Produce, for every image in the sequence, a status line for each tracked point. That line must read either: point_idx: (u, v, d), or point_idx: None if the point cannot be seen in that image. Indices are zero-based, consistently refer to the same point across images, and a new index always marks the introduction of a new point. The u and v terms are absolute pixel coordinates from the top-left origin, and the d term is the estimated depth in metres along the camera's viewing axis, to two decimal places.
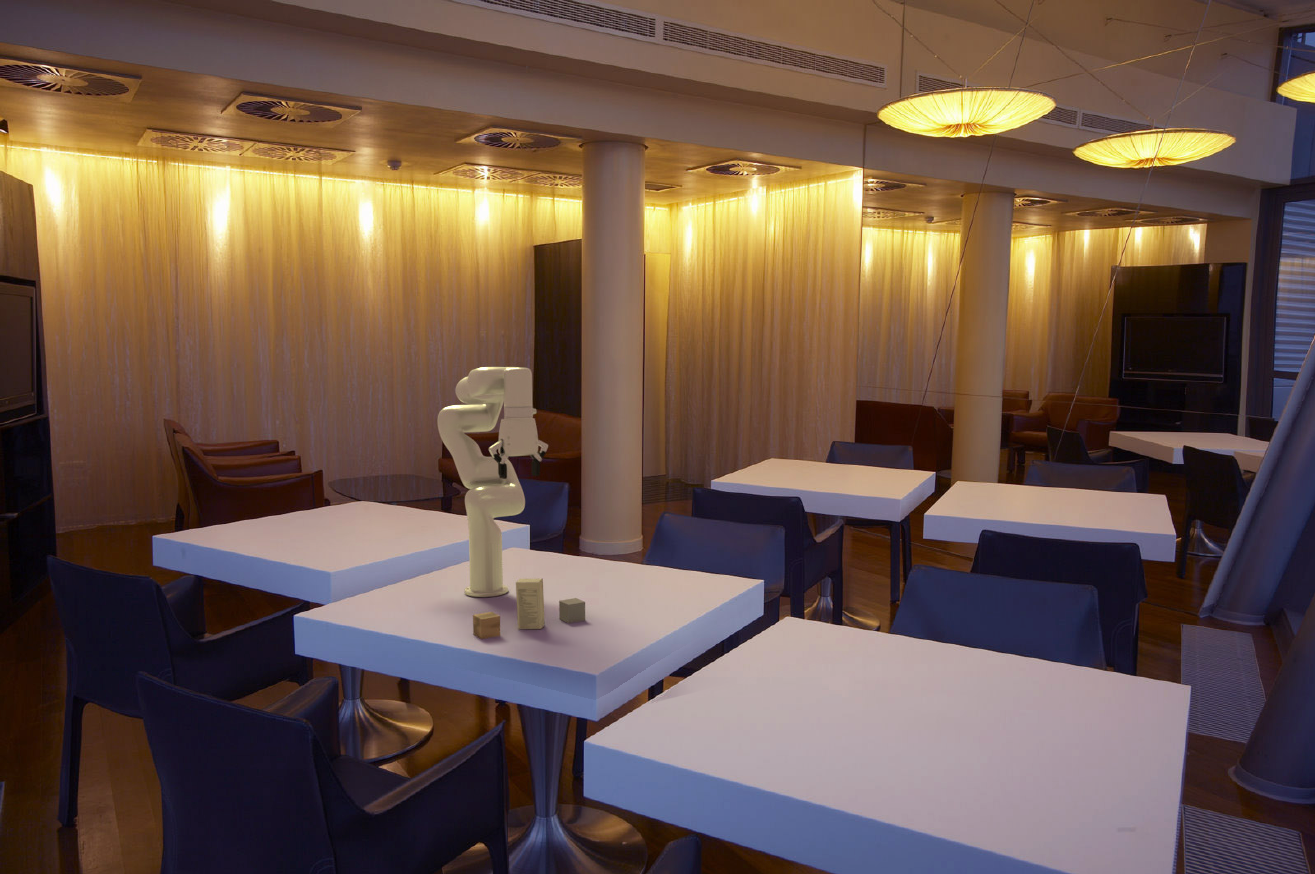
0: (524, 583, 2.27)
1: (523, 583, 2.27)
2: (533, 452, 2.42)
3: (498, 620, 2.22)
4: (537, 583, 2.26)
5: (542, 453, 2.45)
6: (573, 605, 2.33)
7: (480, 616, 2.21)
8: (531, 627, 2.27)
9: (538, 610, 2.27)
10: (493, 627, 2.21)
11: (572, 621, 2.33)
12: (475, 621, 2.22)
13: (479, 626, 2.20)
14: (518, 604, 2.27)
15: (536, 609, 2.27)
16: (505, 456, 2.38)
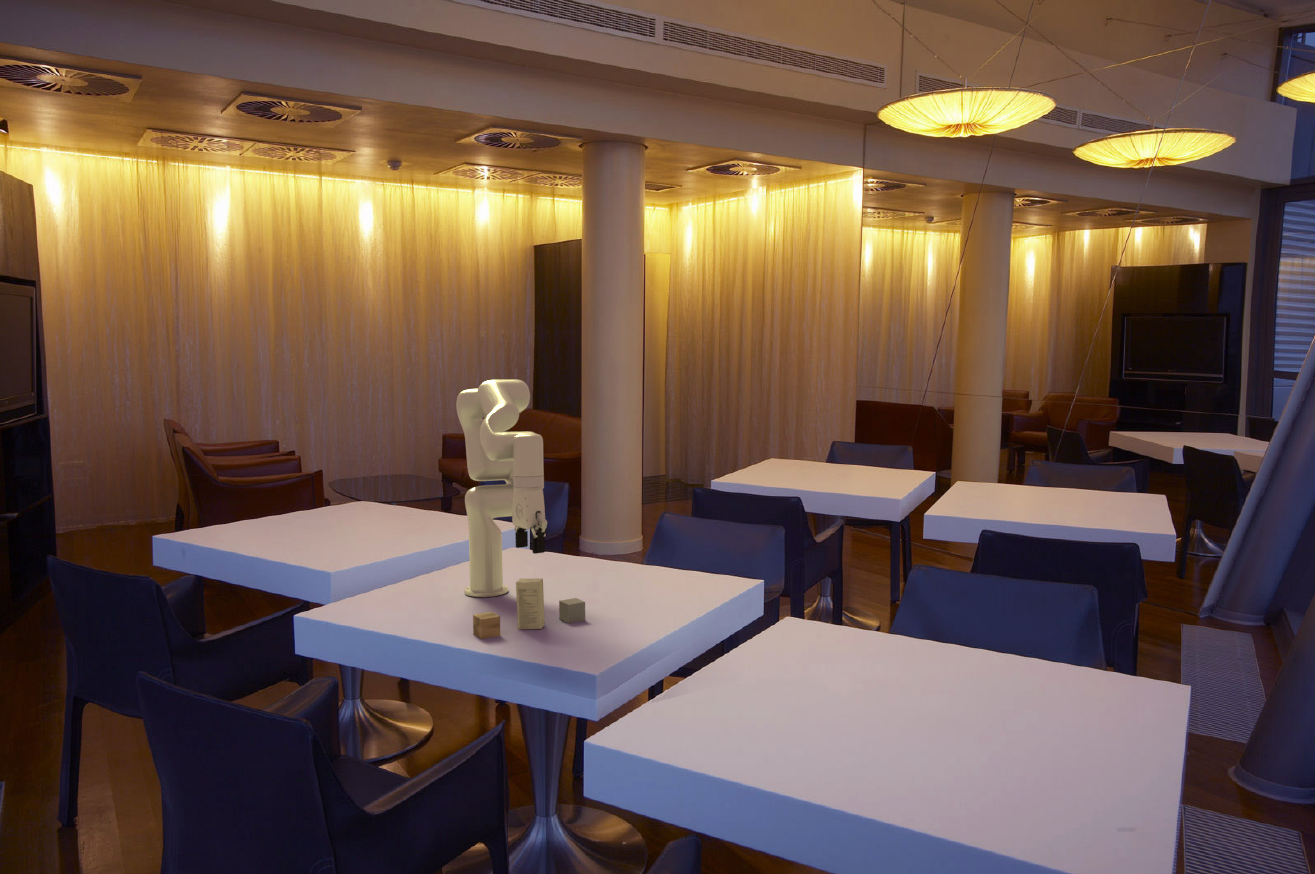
0: (524, 583, 2.27)
1: (523, 583, 2.27)
2: None
3: (498, 620, 2.22)
4: (537, 583, 2.26)
5: None
6: (573, 605, 2.33)
7: (481, 616, 2.21)
8: (531, 627, 2.27)
9: (538, 610, 2.27)
10: (493, 627, 2.21)
11: (572, 621, 2.33)
12: (476, 621, 2.22)
13: (479, 626, 2.20)
14: (518, 604, 2.27)
15: (536, 609, 2.27)
16: None
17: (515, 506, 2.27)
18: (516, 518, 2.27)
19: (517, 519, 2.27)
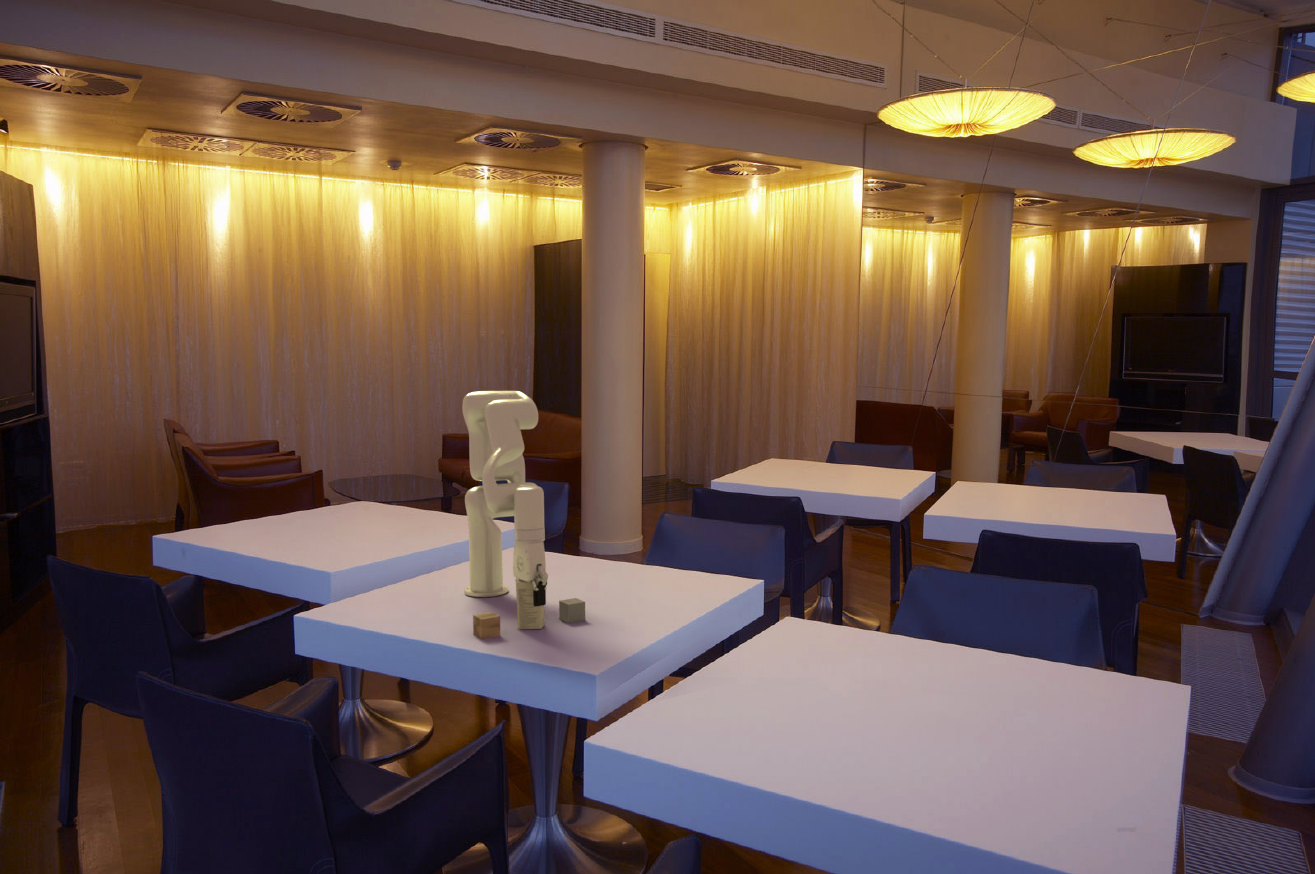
0: (524, 583, 2.27)
1: (523, 583, 2.27)
2: None
3: (498, 620, 2.22)
4: (537, 583, 2.26)
5: None
6: (573, 605, 2.33)
7: (481, 616, 2.21)
8: (531, 627, 2.27)
9: (538, 610, 2.27)
10: (493, 627, 2.21)
11: (572, 621, 2.33)
12: (476, 621, 2.22)
13: (479, 626, 2.20)
14: (518, 604, 2.27)
15: (536, 609, 2.27)
16: None
17: (516, 558, 2.28)
18: (517, 570, 2.28)
19: (518, 571, 2.27)
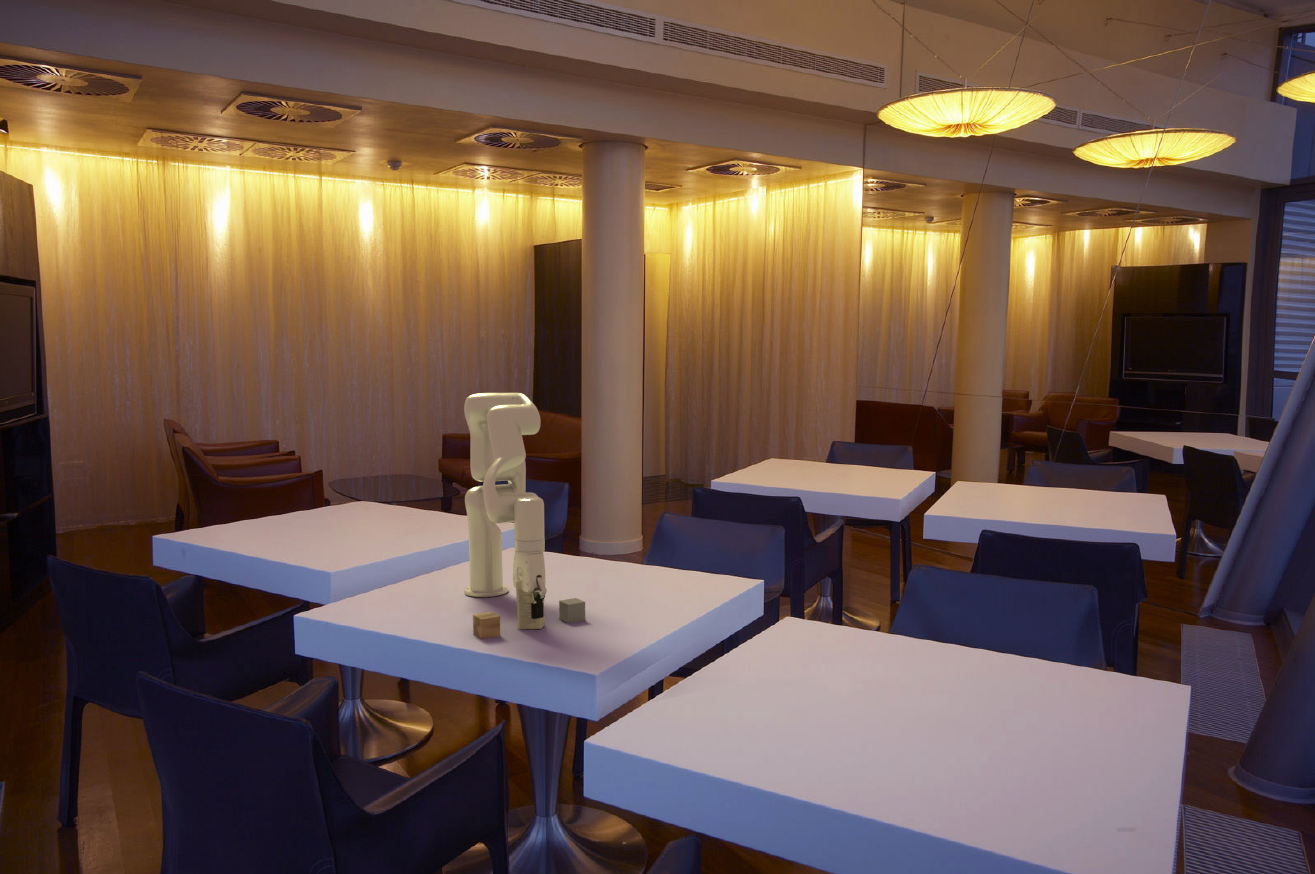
0: None
1: None
2: None
3: (498, 620, 2.22)
4: None
5: None
6: (573, 605, 2.33)
7: (481, 616, 2.21)
8: (531, 627, 2.27)
9: None
10: (493, 627, 2.21)
11: (572, 621, 2.33)
12: (476, 621, 2.22)
13: (479, 626, 2.20)
14: (518, 604, 2.27)
15: None
16: None
17: (516, 568, 2.29)
18: (517, 580, 2.28)
19: None
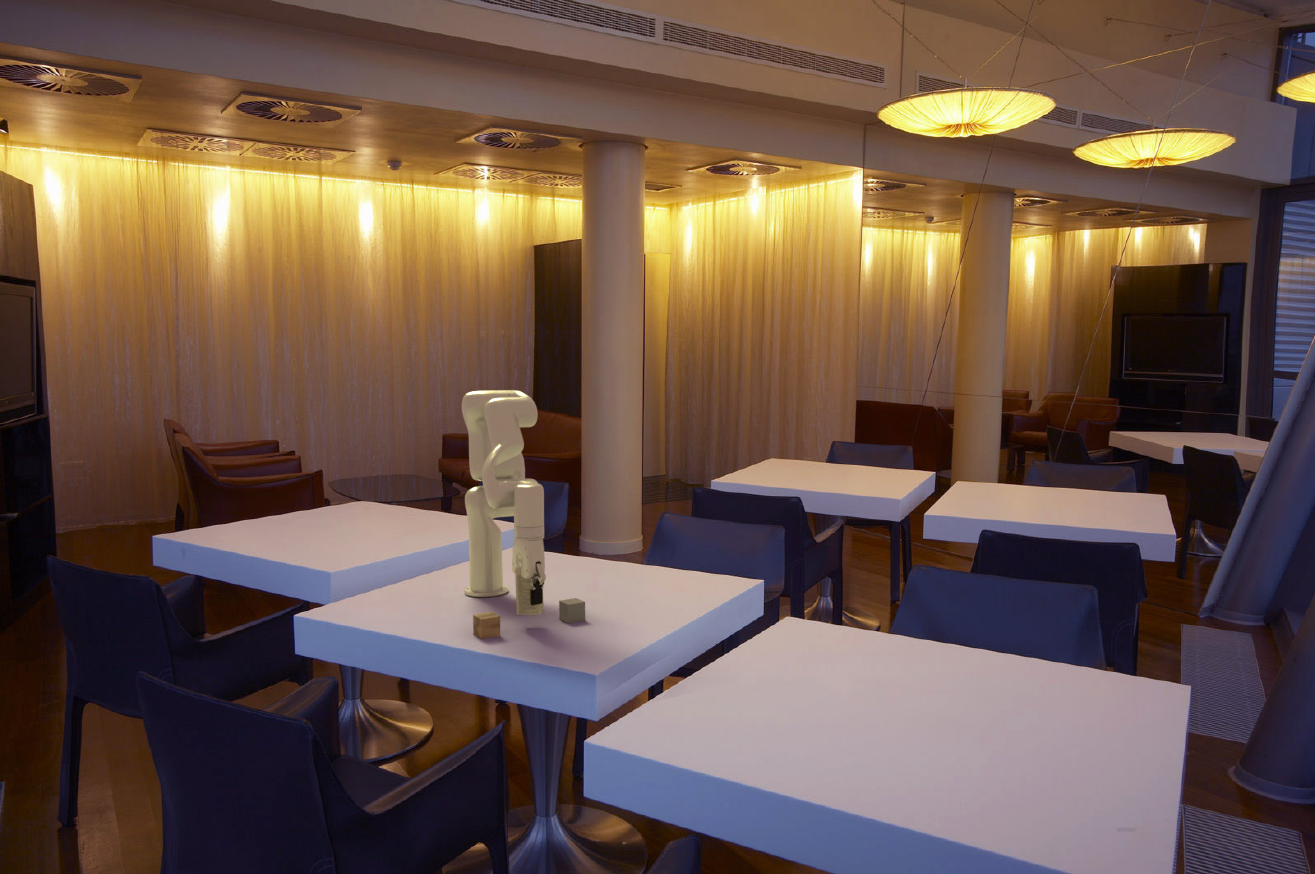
0: None
1: None
2: None
3: (498, 620, 2.22)
4: None
5: None
6: (573, 605, 2.33)
7: (481, 616, 2.21)
8: (530, 613, 2.28)
9: None
10: (493, 627, 2.21)
11: (572, 621, 2.33)
12: (476, 621, 2.22)
13: (479, 626, 2.20)
14: (517, 590, 2.27)
15: None
16: None
17: (515, 555, 2.29)
18: (516, 566, 2.28)
19: None
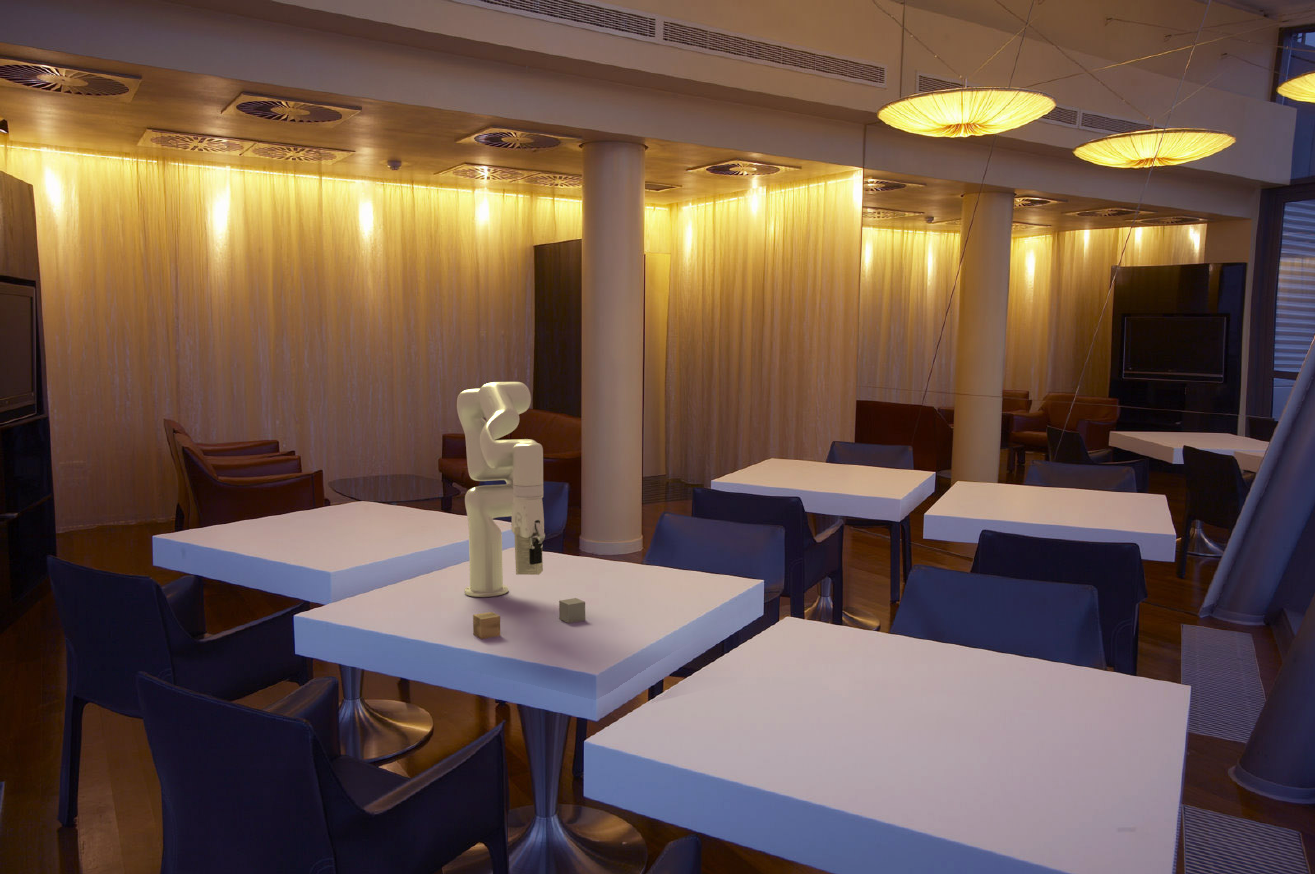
0: None
1: None
2: None
3: (498, 620, 2.22)
4: None
5: None
6: (573, 605, 2.33)
7: (481, 616, 2.21)
8: (529, 573, 2.27)
9: None
10: (493, 627, 2.21)
11: (572, 621, 2.33)
12: (476, 621, 2.22)
13: (479, 626, 2.20)
14: (516, 550, 2.27)
15: None
16: None
17: (514, 514, 2.28)
18: (515, 526, 2.28)
19: None
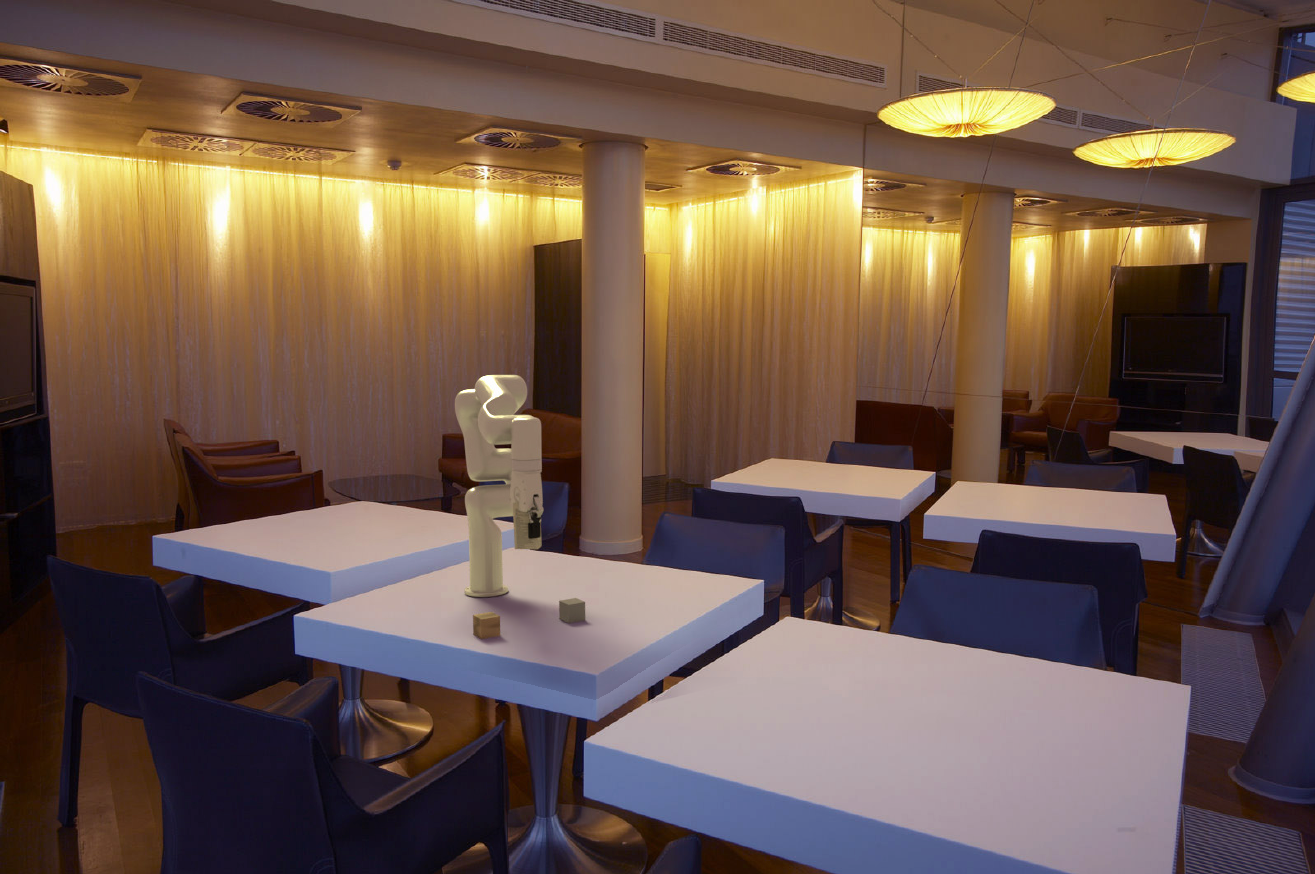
0: None
1: None
2: None
3: (498, 620, 2.22)
4: None
5: None
6: (573, 605, 2.33)
7: (481, 616, 2.21)
8: (528, 547, 2.27)
9: None
10: (493, 627, 2.21)
11: (572, 621, 2.33)
12: (476, 621, 2.22)
13: (479, 626, 2.20)
14: (515, 524, 2.27)
15: None
16: None
17: (513, 489, 2.28)
18: (514, 501, 2.28)
19: None
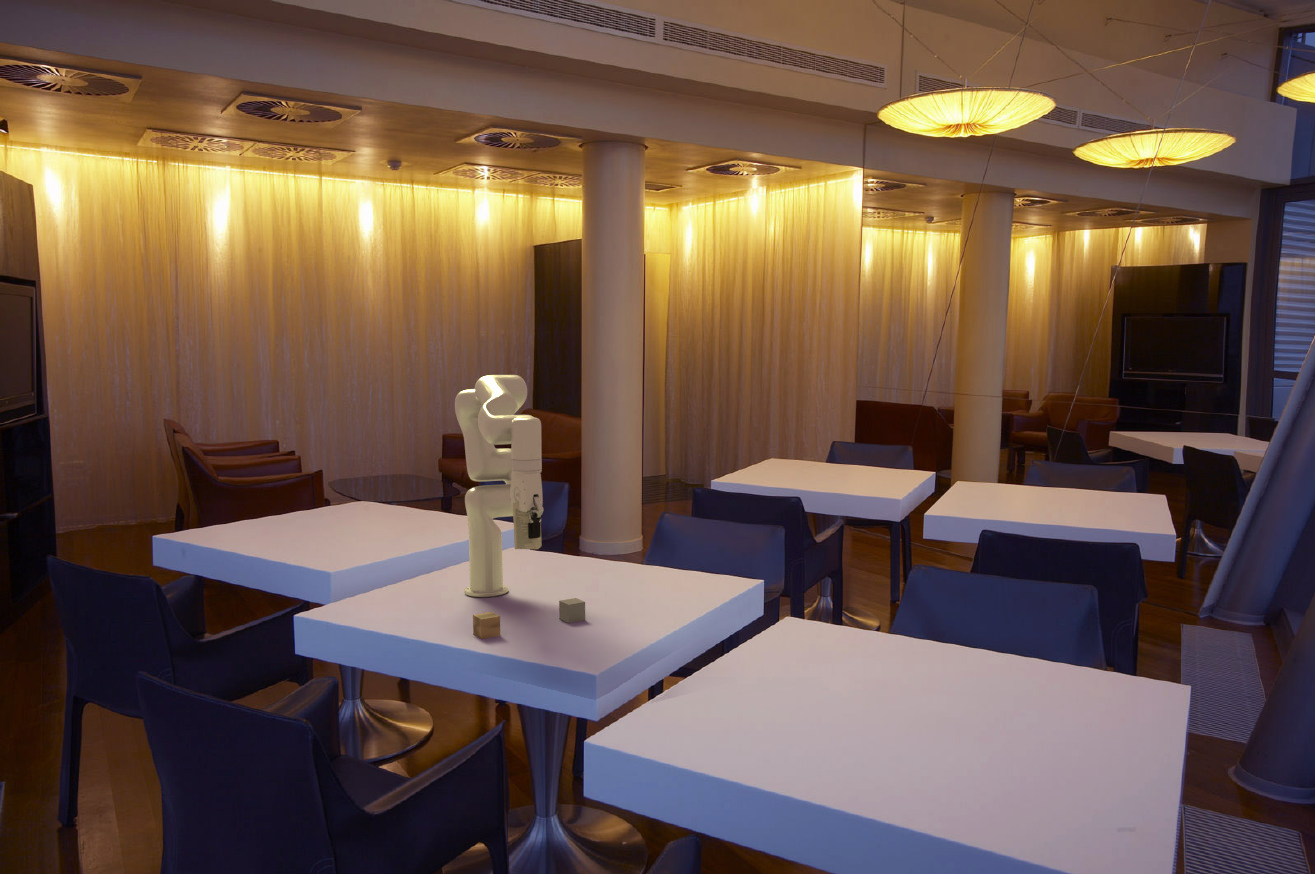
0: None
1: None
2: None
3: (498, 620, 2.22)
4: None
5: None
6: (573, 605, 2.33)
7: (481, 616, 2.21)
8: (528, 547, 2.27)
9: None
10: (493, 627, 2.21)
11: (572, 621, 2.33)
12: (476, 621, 2.22)
13: (479, 626, 2.20)
14: (515, 524, 2.27)
15: None
16: None
17: (513, 489, 2.28)
18: (514, 501, 2.28)
19: None
